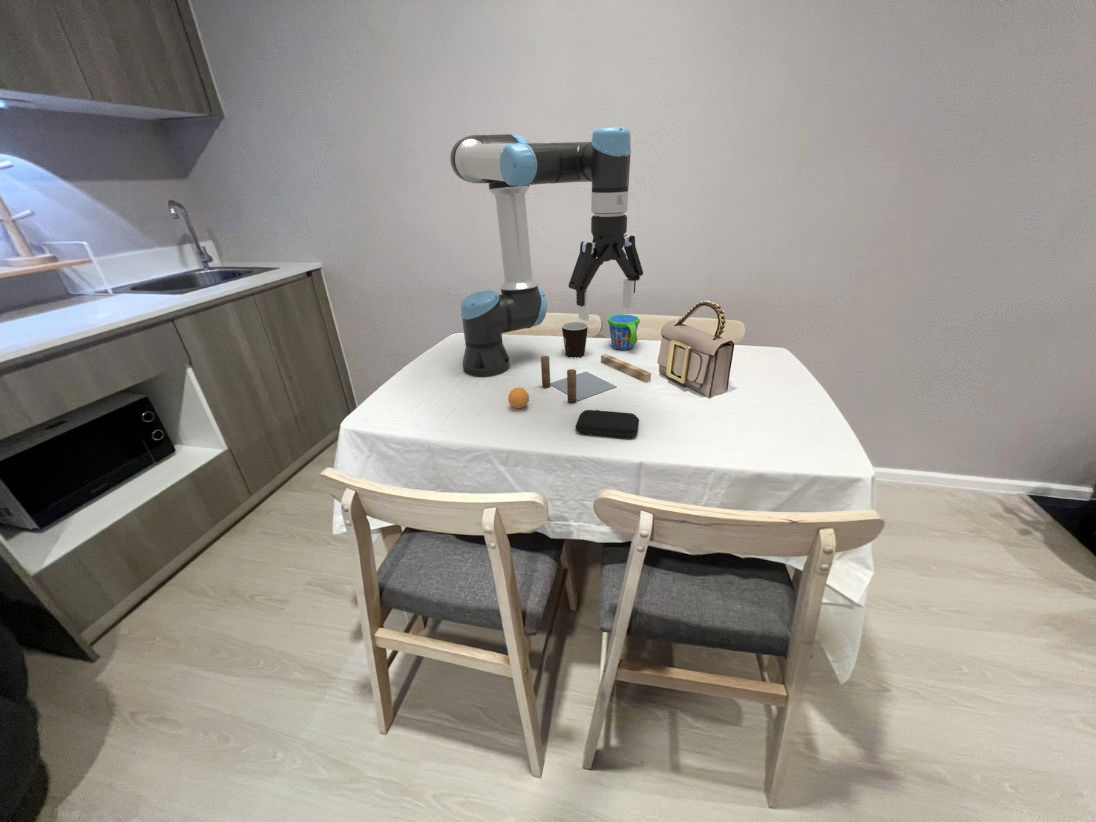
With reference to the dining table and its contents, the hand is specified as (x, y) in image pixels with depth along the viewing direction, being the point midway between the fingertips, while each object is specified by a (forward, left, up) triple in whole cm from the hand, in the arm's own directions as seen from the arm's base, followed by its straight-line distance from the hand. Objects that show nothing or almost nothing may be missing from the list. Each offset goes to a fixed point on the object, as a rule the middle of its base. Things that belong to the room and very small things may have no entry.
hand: (606, 313), depth 106 cm
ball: (-16, -16, -23) cm, 33 cm away
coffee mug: (-38, +20, -26) cm, 51 cm away
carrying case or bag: (+6, -4, -27) cm, 28 cm away
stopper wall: (-16, +22, -26) cm, 38 cm away
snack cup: (-32, +36, -26) cm, 55 cm away
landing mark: (-16, +6, -26) cm, 31 cm away
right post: (-10, -3, -26) cm, 28 cm away
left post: (-23, -3, -26) cm, 35 cm away
